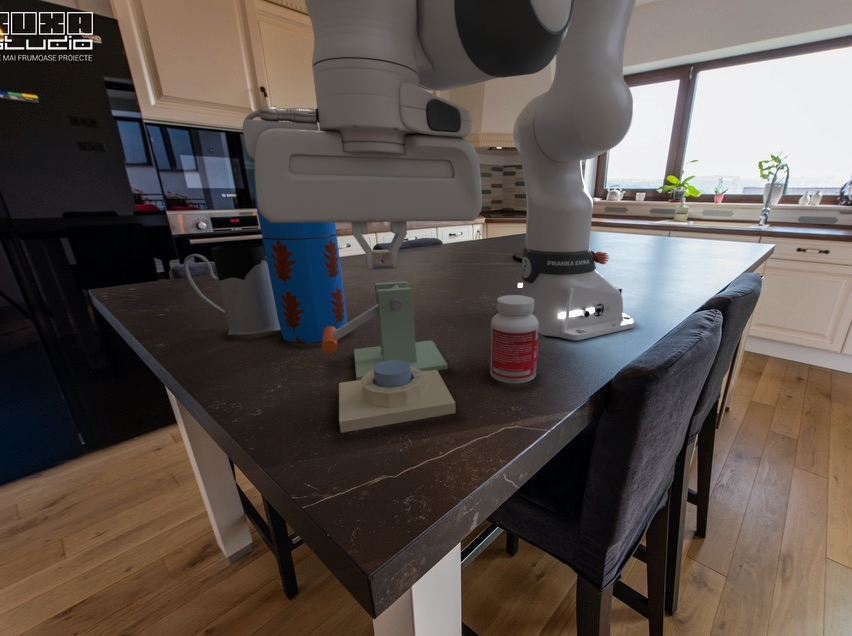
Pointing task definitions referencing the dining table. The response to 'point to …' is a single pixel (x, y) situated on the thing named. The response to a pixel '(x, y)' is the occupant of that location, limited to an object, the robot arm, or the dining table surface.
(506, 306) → the pill bottle
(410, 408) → the control block
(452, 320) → the dining table surface
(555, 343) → the dining table surface
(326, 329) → the switch lever
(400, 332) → the green lever stand
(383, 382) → the power button
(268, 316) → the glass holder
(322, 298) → the thermos
